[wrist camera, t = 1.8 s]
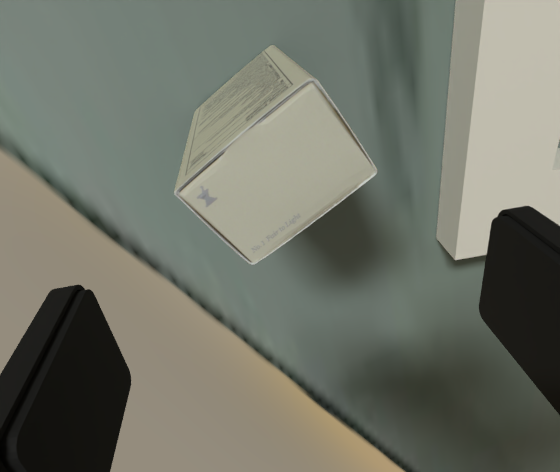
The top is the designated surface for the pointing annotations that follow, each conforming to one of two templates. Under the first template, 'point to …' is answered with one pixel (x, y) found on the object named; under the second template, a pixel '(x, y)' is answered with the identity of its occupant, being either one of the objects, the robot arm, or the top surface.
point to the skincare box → (269, 157)
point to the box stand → (500, 119)
